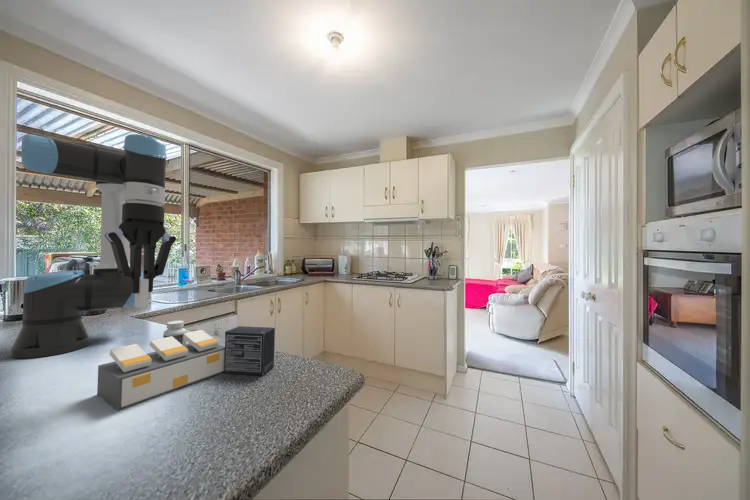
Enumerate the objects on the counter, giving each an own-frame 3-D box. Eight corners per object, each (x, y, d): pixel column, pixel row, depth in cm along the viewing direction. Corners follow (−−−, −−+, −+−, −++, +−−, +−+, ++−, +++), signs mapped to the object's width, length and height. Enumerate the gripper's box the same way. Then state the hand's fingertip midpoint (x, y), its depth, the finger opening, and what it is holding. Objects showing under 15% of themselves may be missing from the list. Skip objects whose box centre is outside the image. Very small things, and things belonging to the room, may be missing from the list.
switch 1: (109, 354, 58) (110, 348, 58) (135, 348, 62) (136, 343, 62) (124, 372, 54) (124, 366, 54) (151, 364, 58) (151, 359, 58)
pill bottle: (187, 356, 80) (188, 322, 80) (164, 361, 76) (165, 325, 76) (183, 351, 84) (184, 318, 84) (161, 355, 80) (162, 321, 80)
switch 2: (149, 345, 64) (150, 340, 64) (171, 340, 68) (172, 335, 68) (165, 361, 60) (166, 355, 60) (187, 354, 64) (188, 349, 64)
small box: (275, 366, 74) (276, 326, 75) (263, 376, 68) (264, 333, 68) (238, 363, 76) (239, 324, 76) (222, 373, 69) (223, 331, 69)
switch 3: (183, 338, 70) (183, 333, 70) (201, 333, 74) (202, 329, 74) (199, 351, 66) (200, 346, 66) (217, 346, 70) (218, 341, 70)
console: (97, 394, 58) (98, 361, 58) (202, 362, 76) (203, 337, 76) (118, 411, 52) (119, 374, 52) (226, 371, 70) (227, 344, 70)
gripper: (114, 197, 57) (110, 313, 56) (183, 207, 68) (181, 304, 67) (99, 201, 60) (96, 310, 60) (168, 210, 72) (165, 302, 71)
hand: (141, 307), depth 63 cm, fingers closed
